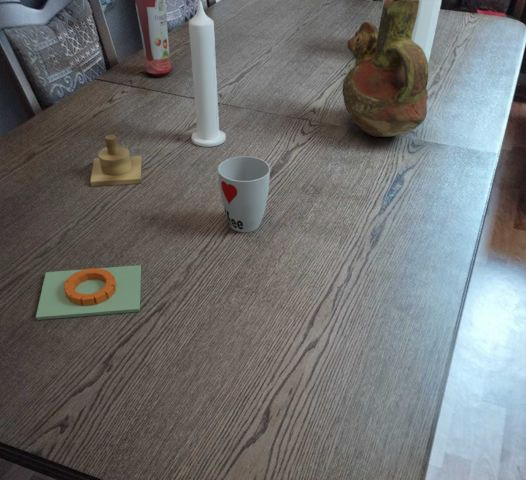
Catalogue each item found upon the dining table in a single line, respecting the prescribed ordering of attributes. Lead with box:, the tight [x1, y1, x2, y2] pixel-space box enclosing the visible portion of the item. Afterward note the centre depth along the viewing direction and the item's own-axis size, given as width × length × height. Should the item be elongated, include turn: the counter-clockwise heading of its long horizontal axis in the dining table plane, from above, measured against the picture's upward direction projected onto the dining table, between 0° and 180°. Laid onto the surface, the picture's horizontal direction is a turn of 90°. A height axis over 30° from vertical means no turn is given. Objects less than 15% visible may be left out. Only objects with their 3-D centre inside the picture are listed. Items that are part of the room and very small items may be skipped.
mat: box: [35, 264, 142, 321], centre depth 79 cm, size 14×10×1 cm
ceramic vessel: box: [342, 0, 429, 138], centre depth 109 cm, size 17×26×25 cm, turn 27°
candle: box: [188, 0, 227, 148], centre depth 105 cm, size 7×7×25 cm
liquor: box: [134, 0, 173, 78], centre depth 129 cm, size 7×7×28 cm
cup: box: [217, 155, 271, 233], centre depth 88 cm, size 8×8×10 cm
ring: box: [64, 267, 116, 306], centre depth 79 cm, size 7×7×1 cm
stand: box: [89, 134, 143, 187], centre depth 101 cm, size 9×9×7 cm
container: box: [379, 0, 443, 64], centre depth 142 cm, size 14×14×18 cm
